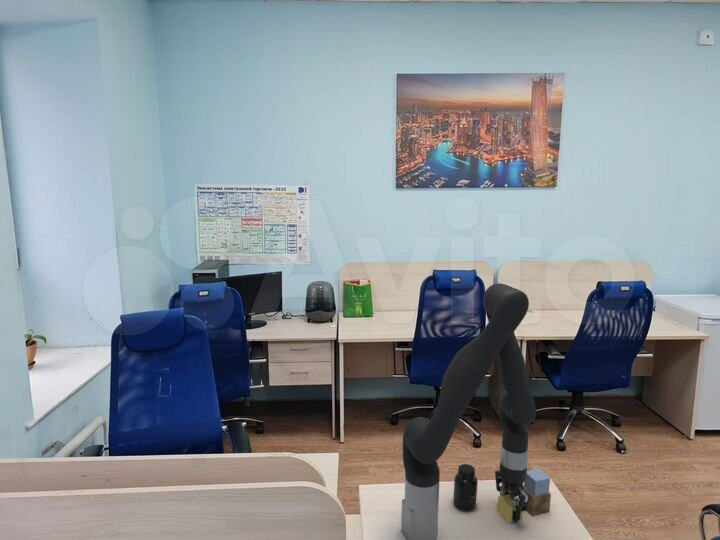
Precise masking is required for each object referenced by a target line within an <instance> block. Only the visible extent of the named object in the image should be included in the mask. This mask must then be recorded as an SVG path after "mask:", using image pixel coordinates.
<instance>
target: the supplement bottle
mask: <svg viewBox="0 0 720 540" xmlns="http://www.w3.org/2000/svg"><path fill="white" fill-rule="evenodd" d="M477 499H478V478H477V476H476V469H475V466H473V465H471V464H467V463H462V464H460V465H458V470H457V473H456V474H455V476H454V482H453V500H452V501H453V502H452V503H453V505H454V506H455V507H456V509H458V510H460V511H463V512H464V511H466V512H470V511H473V510H474V509H476V506H477Z"/></svg>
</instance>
